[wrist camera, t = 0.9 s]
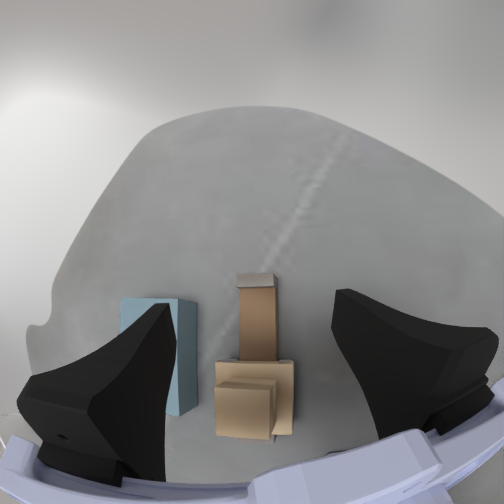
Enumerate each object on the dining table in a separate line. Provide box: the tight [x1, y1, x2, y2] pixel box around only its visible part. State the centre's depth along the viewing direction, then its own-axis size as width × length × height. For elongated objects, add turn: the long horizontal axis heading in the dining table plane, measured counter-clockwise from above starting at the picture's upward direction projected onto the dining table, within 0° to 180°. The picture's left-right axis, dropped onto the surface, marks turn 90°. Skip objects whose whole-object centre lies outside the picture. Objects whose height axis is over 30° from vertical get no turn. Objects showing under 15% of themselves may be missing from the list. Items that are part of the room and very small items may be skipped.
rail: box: [237, 274, 278, 444], centre depth 21 cm, size 14×3×2 cm, turn 0°
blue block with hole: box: [120, 298, 198, 417], centre depth 22 cm, size 10×6×4 cm, turn 0°
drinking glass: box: [0, 414, 43, 461], centre depth 17 cm, size 7×7×15 cm
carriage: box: [214, 359, 294, 440], centre depth 18 cm, size 6×6×6 cm
